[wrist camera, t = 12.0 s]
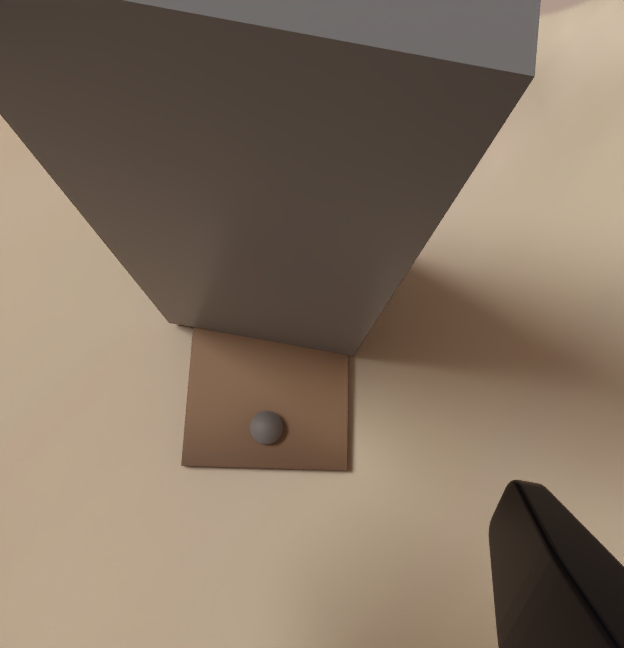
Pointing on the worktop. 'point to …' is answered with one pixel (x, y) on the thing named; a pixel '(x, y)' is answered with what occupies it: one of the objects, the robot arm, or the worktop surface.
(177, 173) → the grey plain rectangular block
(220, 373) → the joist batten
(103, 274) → the worktop surface
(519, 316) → the worktop surface
